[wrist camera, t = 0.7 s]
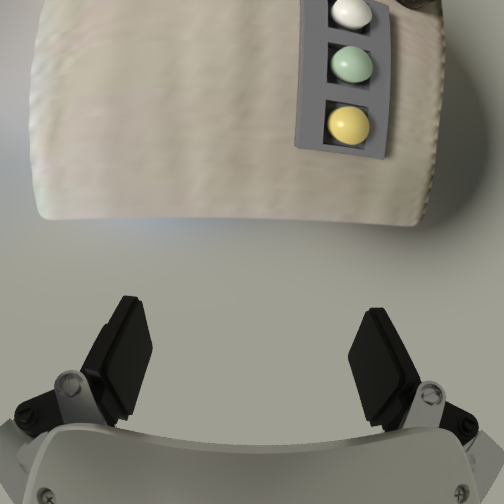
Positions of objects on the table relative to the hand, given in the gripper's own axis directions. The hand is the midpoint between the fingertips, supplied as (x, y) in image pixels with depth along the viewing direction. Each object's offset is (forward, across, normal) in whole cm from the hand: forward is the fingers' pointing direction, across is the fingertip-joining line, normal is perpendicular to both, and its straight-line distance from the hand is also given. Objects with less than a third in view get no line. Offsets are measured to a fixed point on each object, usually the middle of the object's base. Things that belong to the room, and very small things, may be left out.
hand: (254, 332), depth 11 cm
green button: (+24, -10, -16) cm, 31 cm away
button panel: (+26, -10, -16) cm, 32 cm away
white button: (+24, -10, -24) cm, 35 cm away
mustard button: (+24, -10, -9) cm, 27 cm away
